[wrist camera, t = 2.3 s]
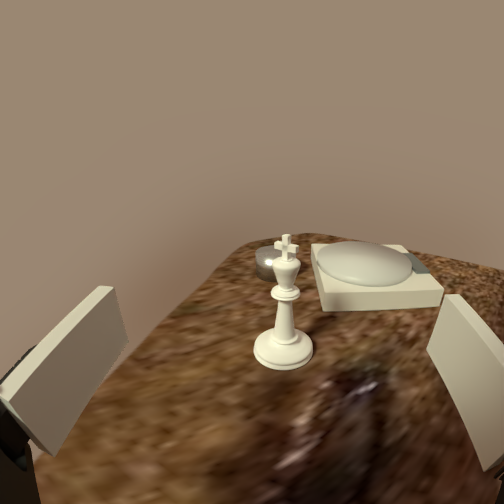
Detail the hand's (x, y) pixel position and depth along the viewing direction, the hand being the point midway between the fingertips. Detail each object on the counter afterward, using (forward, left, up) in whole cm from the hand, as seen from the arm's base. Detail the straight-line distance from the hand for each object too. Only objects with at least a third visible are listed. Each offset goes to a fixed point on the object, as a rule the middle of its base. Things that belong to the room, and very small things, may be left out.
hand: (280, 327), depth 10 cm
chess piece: (0, -10, -10) cm, 14 cm away
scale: (-11, -23, -10) cm, 27 cm away
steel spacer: (+1, -25, -10) cm, 27 cm away
